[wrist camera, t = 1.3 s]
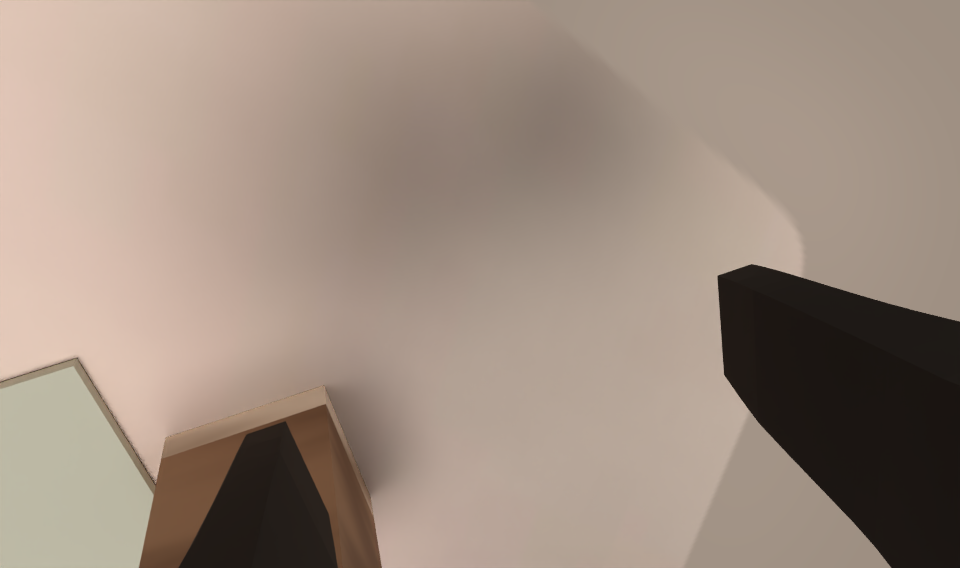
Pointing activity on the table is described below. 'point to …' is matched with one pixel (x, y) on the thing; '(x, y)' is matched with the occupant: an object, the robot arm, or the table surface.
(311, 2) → the table surface
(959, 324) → the robot arm
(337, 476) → the walnut block
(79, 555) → the sage mat
